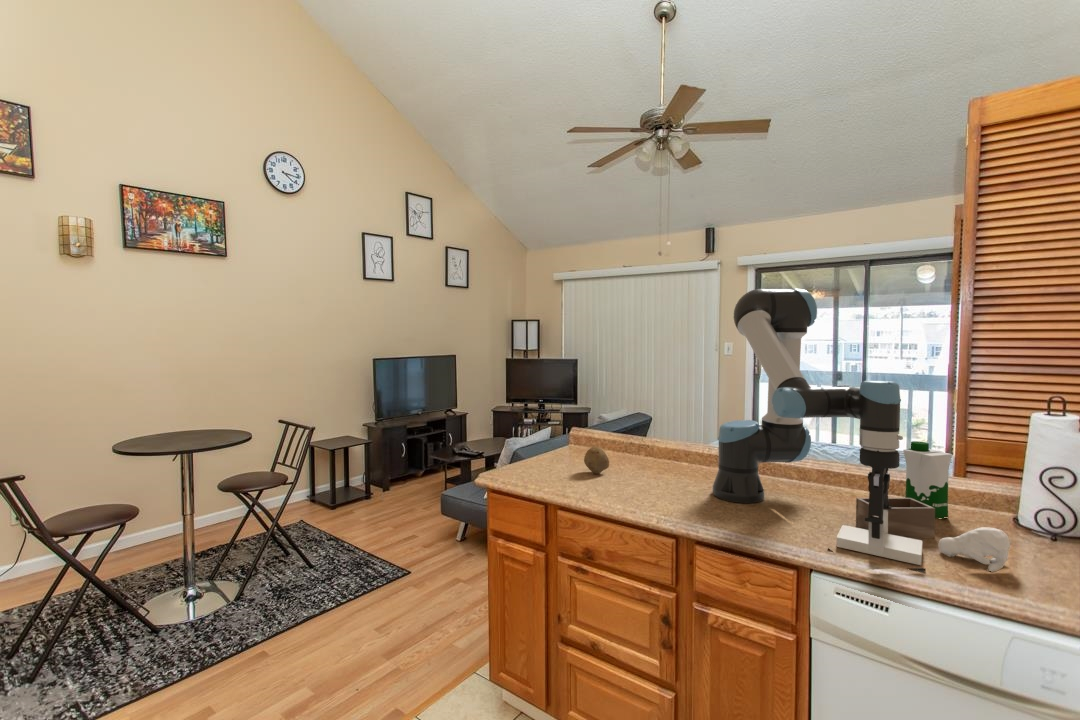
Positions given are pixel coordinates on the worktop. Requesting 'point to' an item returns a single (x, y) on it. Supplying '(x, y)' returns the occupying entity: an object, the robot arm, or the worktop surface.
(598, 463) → the brown oval lump
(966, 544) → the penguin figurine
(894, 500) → the storage box
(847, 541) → the lid
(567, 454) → the worktop surface
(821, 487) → the worktop surface
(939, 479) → the milk carton
